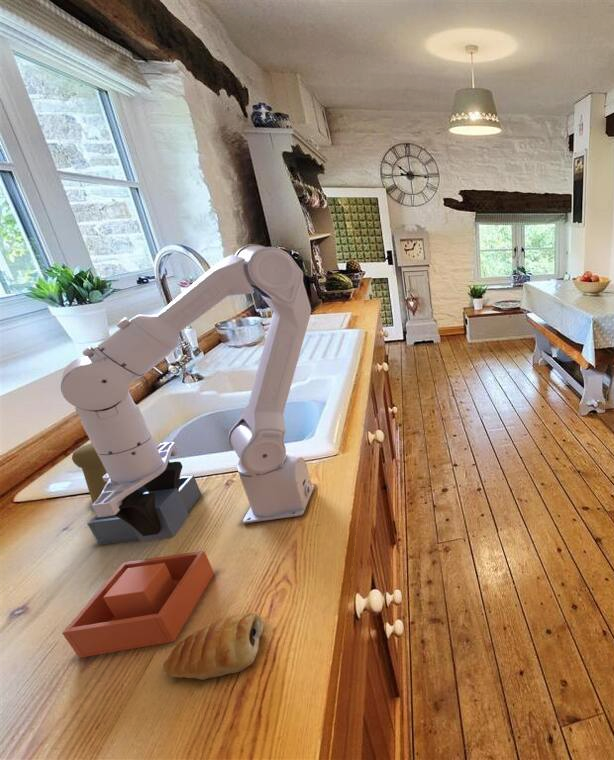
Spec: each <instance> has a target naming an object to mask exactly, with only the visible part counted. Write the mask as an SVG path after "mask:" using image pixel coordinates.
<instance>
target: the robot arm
mask: <svg viewBox="0 0 614 760" xmlns="http://www.w3.org/2000/svg"><path fill="white" fill-rule="evenodd" d="M255 291H256V292H257V293H258V294H260V296H261V298H262V299H263V300H264V302H265V303H266V304H267V306H268V307H269V308H270V309H271V311H272V315H271V319H270V321H269V325H268V329H267V333H266V337H265V340H264V345H263V348H262V351H261V355H260V360H259V363H258V367H257V372H256V374H255V378H254V381H253V386H252V389H251V393H250V395H249V396H250V397H249V400H248V404H247V405H246V406H245V407H244V408H243V409H242V411H241V412H240V414H239V415H240V416H239V418H238V420H237V422H236V423H235V424H234V425H233V426H232V427H231V429H230V430H229V432H228V435H227V436H228V437H227V442H228V444H229V446H230V447H231V449H233V450H234V452H235V454H236V455H237V457H238V459H239V460H238V464H237V465H236V470H237V472H238V476H239V478H240V481H241V484H242V487H243V489H244V493H245V496H246V498H247V501H248V504H249V506H250V508H249V509H248V511H247V512H246V513H245V516H244V518H243V519H242V522H243V524H250V523H257V522H258V523H259V522H264V521H265V522H266V521H272V520H278V519H286V518H294V517H300V516H302V515H303V514H304V513H305V512H306V511H305V510H306V508H307V506H308V503H309V501H310V499H311V496H312V495H313V491H314V489H315V485H314V484H313V483H312V480H311V476H310V473H309V469H308V466H307V462H306V460H305V458H304V457H303V456H292V455H289V454H287V453H286V452H287V448H286V444H285V435H286V424H285V423H286V422H285V417H284V412H285V410H286V409H285V408H286V404H287V401H288V397H289V394H290V391H291V386H292V383H293V380H294V375H295V374H296V373H295V372H296V369H297V366H298V365H297V364H298V362H299V359H300V354H301V350H302V347H303V343H304V339H305V336H306V332H307V330H308V329H307V328H308V325H309V322H310V318H311V314H312V307H311V302H310V299H309V296H308V292H307V289H306V287H305V284H304V272H303V270H302V269H301V268H300V266H299V265H298V264H297V262H296V261H295V260H294V259H293V257H292V256H291V255H290V254H289V253H288V252H287V251H285V250H283V249H281V248H278V247H274V246H264V245H261V244H254V243H253V244H251V243H250V244H247V245H244V246H242V247H240V248H239V249H238V250H237V251H236V253H235V254H230V255H228V256H226V257H224V258H223V259H222V260H221V261H219V262H217V263H216V264H215V265H213V266H212V267H211V268H209V269H208V270H207V271H205V273H204V274H203V275H201V276H200V277H198V279H197V280H195V281H194V282H193V283H192V284H191V285H190V286H188V287H187V288H186V289H185V290H184V291H183V292H182V293H180V294H179V295H178V296H176V298H174V299H173V300H172V301H171V302H169V303H168V304H167V305H166V306H165V307H163V308H162V309H161V310H160V311H159V312H158V313H157V314H137V315H135V316H134V317H132V318H131V319H129V318H127V317H123V318H122V319H120V320H119V321H118V322H117V323H116V327H117V328H118V329H117V330H116V331H114V332H113V333H111V335H110V336H108V337H106V338H105V339H104V340H103V341H102V342H100V343H99V344H98V345H96V346H95V347H92V346H87V348H85V349H84V350H83V351H82V355H84V356H85V357H79V358H77V359H75V360H73V361H71V362H70V363H68V364H67V366H66V367H65V368H64V370H63V372H62V378H61V383H60V392H61V394H62V396H63V398H64V400H66V401H67V402H68V403H69V404H71V406H73V407H75V408H74V410H75V413H76V414H77V416H79V417H80V419H81V420H80V424H81V426H82V427H83V429H84V431H85V433H86V436H87V437H88V439H89V441H90V443H92V445H93V447H94V449H95V451H96V452H97V454H98V456H99V458H100V460H101V462H102V464H103V466H104V468H105V469H106V471H107V473H106V474H105V475H104V476H103V477H102V478H103V480H104V481H105V482H107V483H106V485H105V487H104V489H103V491H102V493H101V494H100V496H99V498H98V499H97V500H96V501H95V502H94V503H92V504H91V508H92V510H93V512H94V513H95V516H96V515H97V517H105V516H112V515H114V516H116V517H118V518H120V519H122V520H124V521H126V522H127V523H128V524H130V525H131V526H132V527H134V528H135V529H136V530H137V531H138V532H139V533H140V534H142V535H143V536H148V535H156V534H159V532H160V531H161V527H160V522H159V519H158V516H157V514H156V509H155V496H156V493H148V494H142V492H139V493H138V491H137V489H139V488H140V487H142V486H144V487H145V488H146V489H147V490H148V491H149V492H150V491H158V490H166V489H173V488H177V490H178V492H179V479H180V477H181V473H182V470H183V464H182V462H181V461H170V459H171V457H175V456H177V455H178V454H179V453H180V451H179V449H178V446H177V444H176V441H172V442H163V443H160V444H158V446H157V445H156V443H155V440H154V438H153V435H152V434H151V432H150V429H149V427H148V424H147V422H146V420H145V417H144V415H143V413H142V411H141V409H140V407H139V405H138V404H136V403H135V402H134V399H133V397H132V394H131V392H130V383H132V382H134V381H137V380H140V379H141V378H142V377H143V376H145V375H146V374H147V373H148V372H149V371H151V370H152V369H153V368H155V367H156V366H157V365H158V364H160V363H161V362H162V361H163V360H164V359H165V358H166V357H168V356H169V355H170V354H171V353H172V352H174V351H175V350H176V349H177V348H179V346H180V332H182V331H183V330H184V329H186V328H187V327H188V326H189V325H191V324H193V323H194V322H195V321H197V320H198V319H199V318H200V317H202V316H204V314H206V313H208V311H210V310H211V309H212V308H214V307H216V305H218V304H219V303H221V302H222V301H223V300H225V299H226V298H228V297H230V296H240V295H248V294H249V295H250V294H255Z"/></svg>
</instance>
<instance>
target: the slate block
mask: <svg viewBox="0 0 614 760" xmlns="http://www.w3.org/2000/svg"><path fill="white" fill-rule="evenodd" d="M148 493H156V496H155V509H156V514H157V516H158V519H159V522H160V527H161V531H160V532H159V534H156V535H148V536H143V535H142V534H140V533H139V532H138V531H137V530H136V529H135V528H134V527H133V529H134V531H135V533H136V535H137V537H138V538H139V539H138V540H139V542H140V543H142V542H143V543H144V542H151V541H156V540H157V541H158V540H163V539H171V538H174V537H175V536H176V535H177V534H178V532H179V531H180V529H181V528H182V527H183V526H184V524H185V523H186V522H187V520H188V519H189V518H190V514H189V512H187V510H186V508H185V505H184V503H183V501H182V499H181V496H180V494H179V492H178V490H177V488H173V489H166V490H158V491H150V492H144V493H143V494H148Z"/></svg>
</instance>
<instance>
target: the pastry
mask: <svg viewBox="0 0 614 760" xmlns="http://www.w3.org/2000/svg"><path fill="white" fill-rule="evenodd" d="M264 627H265V623H264V619H263V617H262V616H261V614H260V613H259V612H257V611H254V610H250V611H249V612H244V613H236V614H233V615H231V616H227V617H221V618H219V619H217V620H216V621H214V622H212V623H211V624H209V625H208V626H206V627H204V628H202V629H199V630H197V631H195V632H194V633H192V634H189V635H188V636H187V637H185V638H184V639H182V640H180V641H179V642H178V643H177V644H176V645H175V647H174V648H173V649H172V650H171V652H170V654H169V655H168V657H167V659H166V660H165V661H164V662H163V664H162V668H163V670H164V671H165V672H166V673H167V675H168V676H169V677H171V678H186V679H198V680H200V681H201V680H202V681H203V680H204V681H205V680H207V679H211V678H217V677H224V675H228V674H235V673H239V672H241V671H243V670H244V669H247V668H248V667H249V666H251V665H252V664H254V661H255V659H256V657H257V654H258V651H259V646H260V645H259V644H260V637H261V635H262V633H263V630H264Z"/></svg>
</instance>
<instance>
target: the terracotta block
mask: <svg viewBox="0 0 614 760" xmlns="http://www.w3.org/2000/svg"><path fill="white" fill-rule="evenodd" d="M175 588H176V585H175V583H174V581H173V579H172V577H171V575H170V573H169V571H168V569H167V567H166V565H165V563H161V564H154V565H147V566H140V567H133V568H128V569H127V570H126V571H125V572H124V573H123V574H122V576H121V577H120V578H119V579H118V580H117V582H116V583H115V584H114V585H113V586H112V587H111V589H110V590H109V591H108V592H107V593H106V595H105V596H104V597H103V598H104V600H105V602H106V603H107V605H108V607H109V608H110V610H111V612H112V613H113V615H114V617H115V618H116V620H121V619H128V618H134V617H140V616H146V615H152V614H158V613H159V612H160V610H161V609H162V607H163V606H164V604H165V603H166V601H167V600H168V598H169V597H170V595H171V594H172V592H173V591H174V589H175Z"/></svg>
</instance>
